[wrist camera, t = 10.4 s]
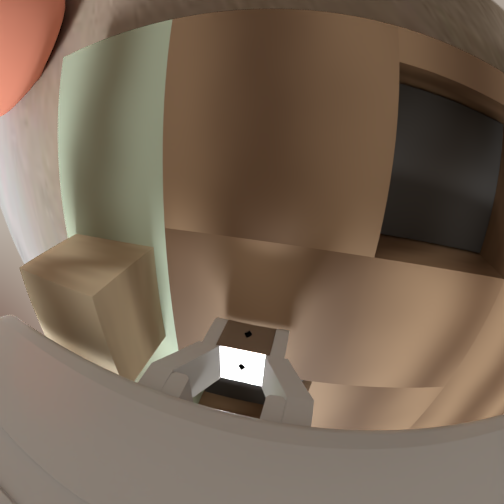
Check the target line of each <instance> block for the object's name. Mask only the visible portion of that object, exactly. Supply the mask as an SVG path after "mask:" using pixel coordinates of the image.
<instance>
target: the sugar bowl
mask: <svg viewBox="0 0 504 504" xmlns="http://www.w3.org/2000/svg"><path fill="white" fill-rule="evenodd" d="M65 8H66V7H65V0H0V116H2V115H4V114H5V113H7V112H8V111H10V110H11V109H12V108H13V107H14V106H15V105H16V104H17V103H18V102H19V101H20V100H21V99H22V98H23V97H24V95H26V93H27V92H28V91H29V90H30V89H31V87H32V86H33V85H34V83H35V82H36V81H37V80H38V79H39V78H40V77H41V75H42V73H43V70H44V66H45V64H46V62H47V60H48V58H49V56H50V54H51V51H52V49H53V47H54V44H55V42H56V39H57V36H58V33H59V31H60V28H61V24H62V21H63V17H64V12H65Z"/></svg>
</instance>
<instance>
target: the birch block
mask: <svg viewBox="0 0 504 504" xmlns="http://www.w3.org/2000/svg"><path fill="white" fill-rule="evenodd" d="M20 271H21V274H22V278H23V281H24V284H25V287H26V290H27V292H28V295H29V298H30V301H31V303H32V306H33V309H34V311H35V313H36V316H37V318H38V321H39V323H40V325H41V328H42V330H43V332H44V334H45V336H46V337H48V338H49V339H51V340H53V341H54V342H56V343H58V344H59V345H61V346H63V347H65V348H66V349H68V350H70V351H72V352H74V353H75V354H77V355H79V356H81V357H83V358H85V359H87V360H89V361H91V362H93V363H95V364H97V365H99V366H101V367H103V368H105V369H107V370H109V371H111V372H114V373H116V374H118V375H120V376H123V377H125V378H127V379H130V380H132V381H135V380H136V378H137V377H138V375H139V374H140V372H141V371H142V369H143V368H144V367H145V365H146V364H147V362H148V361H149V359H150V358H151V357H152V355H153V354H154V352H155V351H156V349H157V348H158V347H159V345H160V344H161V342H162V341H163V340H164V338H165V337H166V335H165V329H164V324H163V318H162V311H161V305H160V298H159V290H158V283H157V275H156V266H155V256H154V247H150V246H144V245H138V244H132V243H126V242H121V241H115V240H109V239H103V238H98V237H92V236H87V235H81V234H75V235H73V236H71V237H70V238H68V239H66V240H64V241H63V242H61V243H59V244H57V245H56V246H54V247H52V248H50V249H49V250H47V251H45V252H44V253H42V254H40V255H39V256H37V257H36V258H34V259H32V260H31V261H29V262H28V263H26V264H24V265H23V266H22V267H20Z"/></svg>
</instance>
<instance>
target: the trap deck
mask: <svg viewBox="0 0 504 504" xmlns="http://www.w3.org/2000/svg"><path fill="white" fill-rule="evenodd" d="M58 160H59V175H60V187H61V196H62V204H63V212H64V218H65V224H66V230H67V236H68V238H70V237H71V236H73V235H75V234H81V235H87V236H92V237H98V238H103V239H109V240H115V241H121V242H126V243H132V244H138V245H144V246H150V247H154V256H155V266H156V275H157V283H158V290H159V298H160V305H161V311H162V318H163V324H164V329H165V335H166V337H165V338H164V340H163V341H162V342H161V344H160V345H159V347H158V348H157V349H156V351H155V352H154V354H153V355H152V357H151V358H150V359H149V361H148V362H147V364H146V365H145V367H144V368H143V369H142V371H141V372H140V374H139V375H138V377H137V378H136V380H135V381H134V382H137V383H138V382H139V380H140V379H141V377H142V376H143V374H144V373H145V372H146V370H147V369H148V367H149V366H150V365H151V363H152V362H154V361H157V360H159V359H161V358H163V357H166V356H168V355H170V354H172V353H174V352H177V351H179V350H181V349H183V348H185V347H187V346H189V345H192V344H194V343H196V342H198V341H201V342H202V341H203V339H204V338H205V336H206V334H207V332H208V331H209V329H210V327H211V325H212V324H213V322H214V320H215V319H216V318H217V317H219V318H223V319H228V320H233V321H238V322H242V323H247V324H252V325H257V326H263V327H269V328H275V329H284V330H289V337H288V343H287V348H286V354H285V359H288V360H289V362H290V363H291V365H292V366H293V368H294V370H295V371H296V373H297V374H298V376H299V378H300V379H301V381H303V384H304V386H305V387H306V389H307V390H308V392H309V393H310V395H311V397H312V398H313V400H314V405H313V415H312V423H311V427H320V428H332V429H348V430H403V429H419V428H430V427H439V426H447V425H454V424H460V423H466V422H471V421H477V420H481V419H486V418H490V417H494V416H497V415H503V414H504V72H502V71H500V70H499V69H497V68H495V67H493V66H492V65H490V64H488V63H486V62H485V61H483V60H481V59H479V58H477V57H475V56H473V55H471V54H469V53H467V52H465V51H463V50H461V49H459V48H456V47H454V46H452V45H450V44H447V43H445V42H442V41H440V40H437V39H435V38H432V37H430V36H427V35H424V34H421V33H418V32H415V31H412V30H409V29H406V28H403V27H399V26H396V25H392V24H388V23H384V22H380V21H376V20H372V19H367V18H362V17H357V16H351V15H345V14H339V13H331V12H323V11H313V10H299V9H245V10H231V11H221V12H212V13H205V14H198V15H192V16H186V17H181V18H176V19H171V20H167V21H163V22H159V23H155V24H151V25H147V26H143V27H140V28H137V29H133V30H130V31H127V32H124V33H121V34H118V35H115V36H112V37H110V38H107V39H104V40H102V41H99V42H97V43H94V44H92V45H89V46H87V47H85V48H82V49H80V50H78V51H76V52H74V53H72V54H70V55H67V56H65V57H63V64H62V71H61V80H60V91H59V106H58ZM265 399H266V397H265V395H264V392H263V390H262V387H261V386H259V385H255V384H250V383H246V382H242V381H237V380H232V379H227V378H222V377H220V379H219V380H217V381H216V382H214V383H213V384H212V385H210V386H209V387H207V388H206V389H204V390H203V391H202V392H200V393H199V394H197V395H196V396H194V397H193V403H197V404H200V405H204V406H207V407H211V408H214V409H218V410H222V411H226V412H230V413H234V414H239V415H243V416H248V417H253V418H258V419H260V416H261V413H262V410H263V406H264V403H265Z"/></svg>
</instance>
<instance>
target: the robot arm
mask: <svg viewBox="0 0 504 504" xmlns="http://www.w3.org/2000/svg"><path fill="white" fill-rule="evenodd" d="M288 337H289V330H284V329H275V328H269V327H263V326H257V325H252V324H247V323H242V322H238V321H233V320H228V319H223V318H219V317H217V318H216V319H215V320H214V322H213V324H212V325H211V327H210V329H209V331H208V332H207V334H206V336H205V338H204V339H203V341H202V342H201V341H198V342H196V343H194V344H192V345H189V346H187V347H185V348H183V349H181V350H179V351H177V352H174V353H172V354H170V355H168V356H166V357H163V358H161V359H159V360H157V361H154V362H152V363H151V365H150V366H149V367H148V369H147V370H146V372H145V373H144V374H143V376H142V377H141V379H140V380H139V382H138V383H137V382H134V381H132V380H130V379H127V378H125V377H123V376H120V375H118V374H116V373H114V372H111V371H109V370H107V369H105V368H103V367H101V366H99V365H97V364H95V363H93V362H91V361H89V360H87V359H85V358H83V357H81V356H79V355H77V354H75V353H74V352H72V351H70V350H68V349H66V348H65V347H63V346H61V345H59V344H58V343H56V342H54V341H53V340H51V339H49V338H48V337H46V336H44V335H43V334H41V333H40V332H38V331H37V330H35V329H34V328H32V327H31V326H29V325H28V324H26V323H25V322H23V321H22V320H21V319H19V318H18V317H16V316H14V315H5V316H2V317H0V504H504V415H497V416H494V417H490V418H486V419H481V420H477V421H471V422H466V423H460V424H454V425H447V426H439V427H430V428H419V429H403V430H348V429H332V428H320V427H311V423H312V415H313V405H314V400H313V398H312V397H311V395H310V393H309V392H308V390H307V389H306V387H305V386H304V384H303V382H302V381H301V379H300V378H299V376H298V374H297V373H296V371H295V370H294V368H293V366H292V365H291V363H290V362H289V360H288V359H285V354H286V348H287V343H288ZM220 377H222V378H227V379H232V380H237V381H242V382H246V383H250V384H255V385H259V386H261V387H262V390H263V392H264V395H265V397H266V399H265V403H264V406H263V410H262V413H261V416H260V419H258V418H253V417H248V416H243V415H239V414H234V413H230V412H226V411H222V410H218V409H214V408H211V407H207V406H204V405H200V404H197V403H193V397H194V396H196V395H197V394H199V393H200V392H202V391H203V390H204V389H206V388H207V387H209V386H210V385H212V384H213V383H214V382H216V381H217V380H219V379H220Z"/></svg>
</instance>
